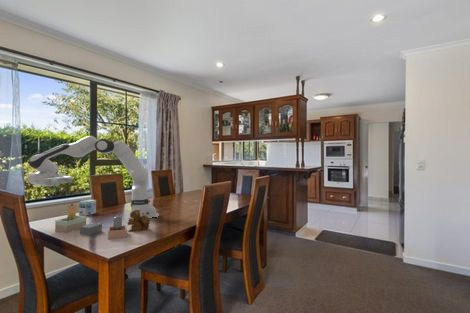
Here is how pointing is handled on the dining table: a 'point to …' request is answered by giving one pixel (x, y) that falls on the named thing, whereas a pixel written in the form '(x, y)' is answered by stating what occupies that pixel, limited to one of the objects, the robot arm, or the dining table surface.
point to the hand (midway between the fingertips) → (64, 180)
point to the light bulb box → (87, 207)
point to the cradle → (91, 228)
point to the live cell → (71, 212)
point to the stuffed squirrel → (138, 221)
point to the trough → (69, 224)
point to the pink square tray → (117, 232)
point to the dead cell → (117, 223)
